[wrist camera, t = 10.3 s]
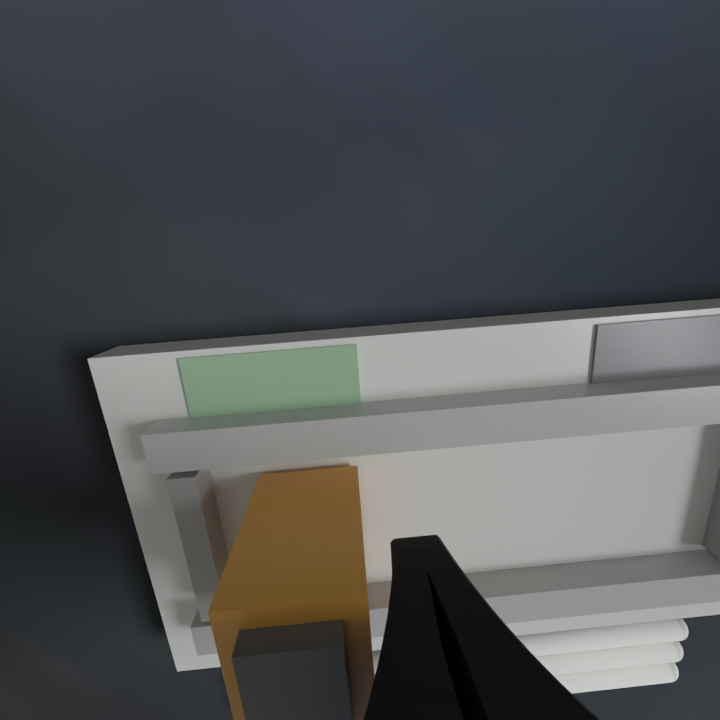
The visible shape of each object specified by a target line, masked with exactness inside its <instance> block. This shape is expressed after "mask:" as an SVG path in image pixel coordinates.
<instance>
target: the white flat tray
mask: <svg viewBox="0 0 720 720" xmlns="http://www.w3.org/2000/svg"><path fill="white" fill-rule="evenodd" d="M88 363H89V366H90V370H91V373H92V377H93V380H94V384H95V387H96V391H97V394H98V398H99V401H100V405H101V408H102V412H103V415H104V418H105V422H106V425H107V429H108V432H109V436H110V439H111V443H112V446H113V450H114V453H115V457H116V460H117V464H118V467H119V471H120V474H121V478H122V481H123V485H124V488H125V492H126V495H127V498H128V502H129V505H130V509H131V512H132V516H133V519H134V523H135V526H136V530H137V533H138V537H139V540H140V544H141V547H142V551H143V554H144V558H145V561H146V565H147V568H148V572H149V575H150V579H151V582H152V585H153V589H154V592H155V596H156V599H157V603H158V606H159V610H160V613H161V617H162V620H163V624H164V627H165V631H166V634H167V638H168V641H169V645H170V648H171V652H172V655H173V659H174V662H175V665H176V669H177V671H186V670H195V669H205V668H214V667H221V665H220V661H219V657H218V653H217V649H216V645H215V640H214V636H213V632H212V628H211V624H210V620H209V615H208V611H209V608H210V605H211V603H212V600H213V597H214V595H215V592H216V589H217V587H218V584H219V581H220V579H221V576H222V573H223V571H224V568H225V566H226V563H227V560H228V558H229V555H230V552H231V550H232V547H233V544H234V542H235V539H236V536H237V534H238V531H239V528H240V526H241V523H242V520H243V518H244V515H245V512H246V510H247V507H248V504H249V502H250V499H251V497H252V494H253V491H254V489H255V486H256V483H257V481H258V478H259V475H260V474H270V473H282V472H293V471H304V470H315V469H326V468H337V467H348V466H357V467H358V479H359V491H360V503H361V515H362V527H363V539H364V551H365V564H366V576H367V588H368V601H369V614H370V626H371V639H372V651H376V650H381V647H382V642H383V636H384V631H385V626H386V620H387V614H388V607H389V599H390V591H391V581H392V563H391V545H390V542H391V541H392V540H394V539H396V538H406V537H417V536H427V535H437V536H438V537H440V538H441V540H442V542H443V543H444V545H445V546H446V548H447V549H448V551H449V552H450V554H451V555H452V557H453V558H454V560H455V561H456V562H457V564H458V565H459V567H460V568H461V569H462V571H463V572H464V573H465V575H466V576H467V577H468V579H469V580H470V581H471V583H472V584H473V585H474V587H475V588H476V589H477V590H478V592H479V593H480V594H481V595H482V597H483V598H484V599H485V600H486V601H487V603H488V604H489V605H490V606H491V608H492V609H493V610H494V611H495V613H496V614H497V615H498V616H499V617H500V618H501V620H502V621H503V622H504V623H505V624H506V625H507V626H508V628H509V629H510V630H511V631H512V632H513V633H514V634H515V636H518V635H528V634H537V633H547V632H556V631H566V630H576V629H585V628H595V627H604V626H614V625H623V624H633V623H642V622H652V621H661V620H671V619H680V618H690V617H699V616H709V615H718V614H720V298H718V299H706V300H693V301H680V302H668V303H655V304H643V305H630V306H617V307H605V308H592V309H580V310H567V311H554V312H542V313H529V314H517V315H504V316H491V317H479V318H466V319H454V320H441V321H428V322H416V323H403V324H391V325H378V326H365V327H353V328H340V329H328V330H315V331H302V332H290V333H277V334H265V335H252V336H239V337H227V338H214V339H201V340H189V341H176V342H164V343H151V344H138V345H126V346H118V347H115V348H113V349H110V350H108V351H105V352H103V353H100V354H98V355H95V356H93V357H90V358H88Z"/></svg>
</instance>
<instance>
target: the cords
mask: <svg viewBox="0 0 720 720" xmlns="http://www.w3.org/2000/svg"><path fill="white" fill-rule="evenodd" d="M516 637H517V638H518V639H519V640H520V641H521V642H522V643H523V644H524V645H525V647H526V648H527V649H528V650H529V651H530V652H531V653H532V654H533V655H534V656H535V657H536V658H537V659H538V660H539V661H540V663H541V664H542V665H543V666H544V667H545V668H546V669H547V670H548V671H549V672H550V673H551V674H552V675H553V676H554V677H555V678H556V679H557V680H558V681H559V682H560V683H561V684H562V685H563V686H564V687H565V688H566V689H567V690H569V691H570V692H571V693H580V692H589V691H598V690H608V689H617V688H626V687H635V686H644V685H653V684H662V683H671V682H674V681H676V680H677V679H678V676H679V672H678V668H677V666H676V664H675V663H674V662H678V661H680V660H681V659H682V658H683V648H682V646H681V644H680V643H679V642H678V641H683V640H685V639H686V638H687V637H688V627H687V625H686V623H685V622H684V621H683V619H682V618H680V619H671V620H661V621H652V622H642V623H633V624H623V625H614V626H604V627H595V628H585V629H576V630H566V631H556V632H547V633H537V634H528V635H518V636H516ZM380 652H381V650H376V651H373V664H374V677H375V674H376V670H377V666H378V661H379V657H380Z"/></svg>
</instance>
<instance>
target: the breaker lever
mask: <svg viewBox="0 0 720 720" xmlns="http://www.w3.org/2000/svg"><path fill="white" fill-rule="evenodd" d="M208 615H209V620H210V624H211V628H212V632H213V636H214V640H215V645H216V649H217V653H218V657H219V661H220V665H221V669H222V674H223V678H224V682H225V686H226V690H227V694H228V698H229V703H230V707H231V711H232V715H233V719H234V720H363V719H364V716H365V712H366V709H367V705H368V702H369V698H370V694H371V690H372V686H373V682H374V678H375V677H374V664H373V651H372V639H371V626H370V614H369V601H368V588H367V576H366V564H365V551H364V539H363V527H362V515H361V503H360V491H359V479H358V467H357V466H348V467H337V468H326V469H315V470H304V471H293V472H282V473H270V474H260V475H259V478H258V481H257V483H256V486H255V489H254V491H253V494H252V497H251V499H250V502H249V504H248V507H247V510H246V512H245V515H244V518H243V520H242V523H241V526H240V528H239V531H238V534H237V536H236V539H235V542H234V544H233V547H232V550H231V552H230V555H229V558H228V560H227V563H226V566H225V568H224V571H223V573H222V576H221V579H220V581H219V584H218V587H217V589H216V592H215V595H214V597H213V600H212V603H211V605H210V608H209V611H208Z"/></svg>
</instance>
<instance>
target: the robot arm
mask: <svg viewBox="0 0 720 720" xmlns="http://www.w3.org/2000/svg"><path fill="white" fill-rule="evenodd" d="M390 545H391V563H392V581H391V591H390V599H389V607H388V614H387V620H386V626H385V631H384V636H383V642H382V647H381V652H380V657H379V661H378V666H377V670H376V674H375V678H374V682H373V686H372V690H371V694H370V698H369V702H368V705H367V709H366V712H365V716H364V719H363V720H599V719H598V718H597V717H596V716H595V715H594V714H593V713H592V712H591V711H589V710H588V709H587V708H586V707H585V706H584V705H583V704H582V703H581V702H580V701H579V700H578V699H577V698H576V697H575V696H574V695H573V694H572V693H571V692H570V691H569V690H567V689H566V688H565V687H564V686H563V685H562V684H561V683H560V682H559V681H558V680H557V679H556V678H555V677H554V676H553V675H552V674H551V673H550V672H549V671H548V670H547V669H546V668H545V667H544V666H543V665H542V664H541V663H540V661H539V660H538V659H537V658H536V657H535V656H534V655H533V654H532V653H531V652H530V651H529V650H528V649H527V648H526V647H525V645H524V644H523V643H522V642H521V641H520V640H519V639H518V638H517V637H516V636H515V634H514V633H513V632H512V631H511V630H510V629H509V628H508V626H507V625H506V624H505V623H504V622H503V621H502V620H501V618H500V617H499V616H498V615H497V614H496V613H495V611H494V610H493V609H492V608H491V606H490V605H489V604H488V603H487V601H486V600H485V599H484V598H483V597H482V595H481V594H480V593H479V592H478V590H477V589H476V588H475V587H474V585H473V584H472V583H471V581H470V580H469V579H468V577H467V576H466V575H465V573H464V572H463V571H462V569H461V568H460V567H459V565H458V564H457V562H456V561H455V560H454V558H453V557H452V555H451V554H450V552H449V551H448V549H447V548H446V546H445V545H444V543H443V542H442V540H441V538H440V537H438V536H437V535H427V536H417V537H406V538H396V539H394V540H392V541H391V542H390Z"/></svg>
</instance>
